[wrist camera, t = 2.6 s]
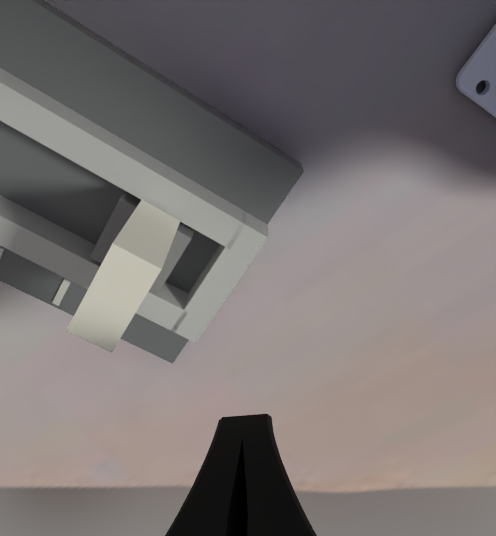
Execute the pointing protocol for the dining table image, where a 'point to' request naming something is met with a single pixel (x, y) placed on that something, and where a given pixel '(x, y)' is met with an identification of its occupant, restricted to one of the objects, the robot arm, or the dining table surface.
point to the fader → (128, 268)
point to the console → (121, 173)
